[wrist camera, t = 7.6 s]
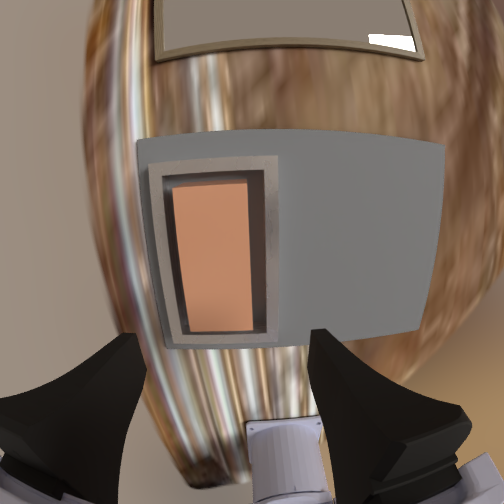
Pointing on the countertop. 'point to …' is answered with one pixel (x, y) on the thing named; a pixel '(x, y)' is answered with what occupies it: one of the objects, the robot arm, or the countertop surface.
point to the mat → (322, 227)
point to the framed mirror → (285, 26)
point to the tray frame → (168, 256)
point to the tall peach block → (214, 253)
